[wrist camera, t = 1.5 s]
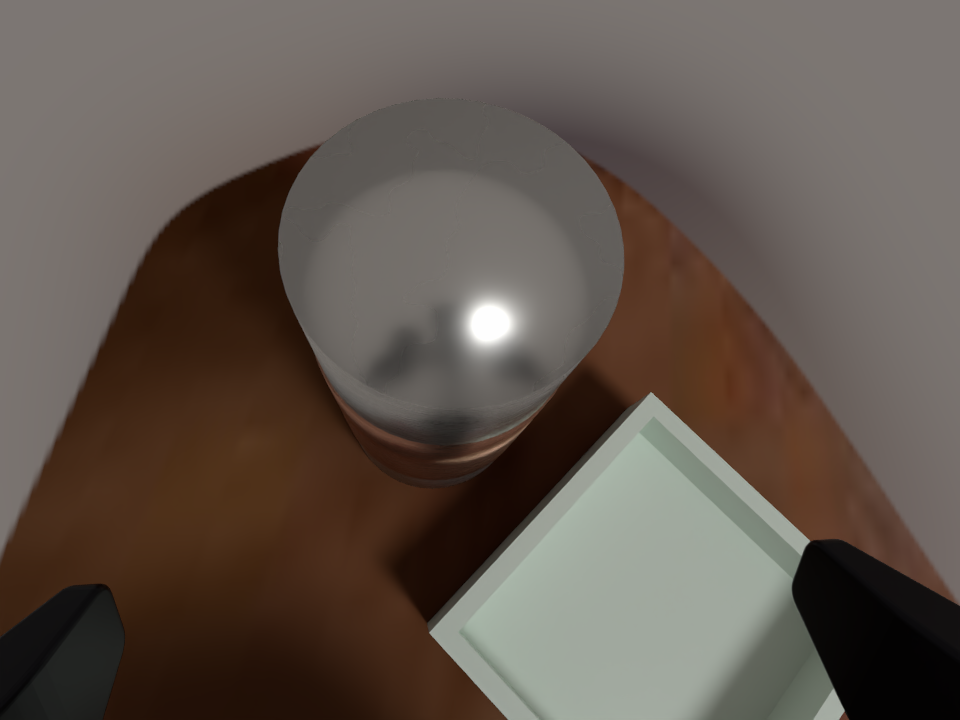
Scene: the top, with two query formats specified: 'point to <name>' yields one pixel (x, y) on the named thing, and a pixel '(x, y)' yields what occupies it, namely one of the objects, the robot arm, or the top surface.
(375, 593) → the top surface
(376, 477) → the top surface
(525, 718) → the pale green square tray
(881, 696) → the robot arm
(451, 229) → the tin
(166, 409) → the top surface
